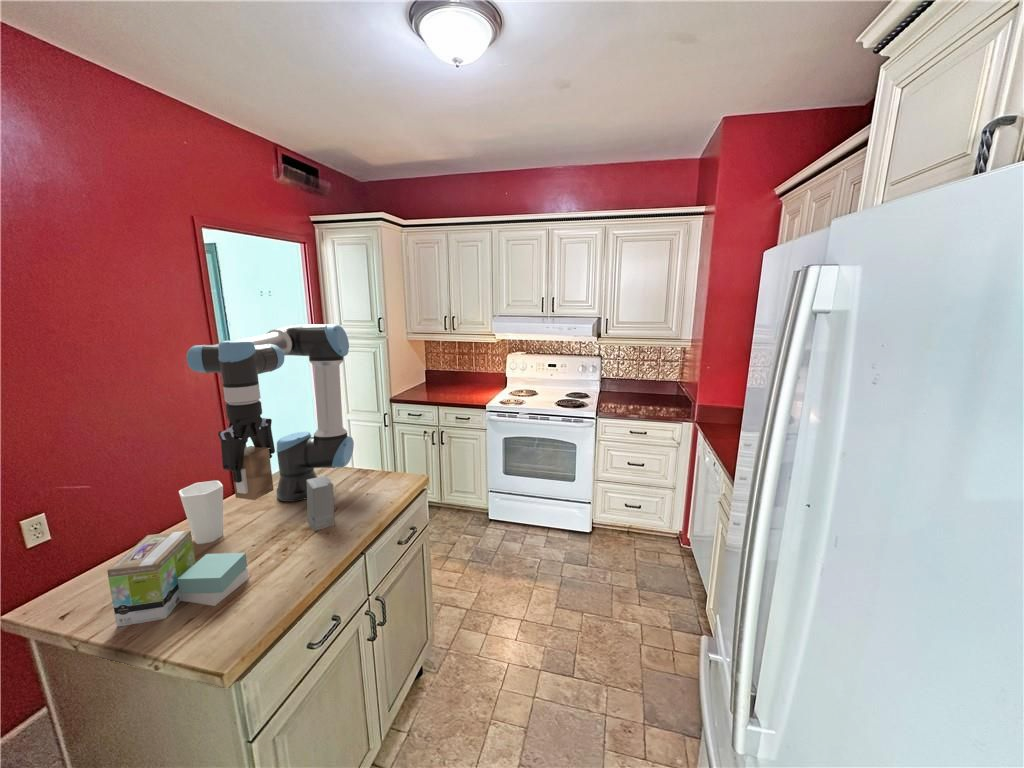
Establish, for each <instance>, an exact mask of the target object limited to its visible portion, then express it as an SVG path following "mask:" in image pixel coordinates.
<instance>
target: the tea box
mask: <svg viewBox="0 0 1024 768" xmlns="http://www.w3.org/2000/svg"><path fill="white" fill-rule="evenodd" d="M195 563H196V557H195V549H194V545H193V535H192V532H191V530H183V531H173V532H166V533H165V532H164V533H155V534H147V535H146V536H145V537H144V538H143V539H141V541H139V542H138V543H137V544H136V545H135V546H133V547H132V548H131V549H130V550H129V551H128V552H126V554H124V555H123V556H122V557H120V559H119V560H117V561H116V562H114V564H113V565H111V566H110V567H108V569H107V577H108V578H107V579H108V582H109V590H110V596H111V603H112V606H113V607H112V608H113V612H114V618H115V624H116V627H118V626H119V627H125V626H130V625H134V624H135V625H136V624H141V623H142V624H143V623H149V622H152V621H153V622H154V621H158V620H165V619H167V618H168V617H169V615H170V614H171V613H172V612H173V610H174V609H175V607H176V606H177V605H179V603H180V602H181V599H180V594H179V586H178V580H177V579H178V578H179V577H180V576H181V575H183V574H184V573H185V572H186V571H187V570H188V569H190V568H191V567H192V566H193V565H194V564H195Z"/></svg>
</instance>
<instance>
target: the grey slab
mask: <svg viewBox="0 0 1024 768" xmlns="http://www.w3.org/2000/svg"><path fill="white" fill-rule="evenodd" d="M249 579H250V577H249V571H248V568H247V567H246V568H245V569H244V570H243V571H242V572H241V573H240V575H239V576H238V577H237V578H236V579H235V580H234V581H233V582H232V583H231V584H230V585H229V586H228V587H227V588H226V589H225V590H224V591H223V592H221V593H187V594H180V592H179V594H180V599H181V600H180V602H187V603H193V604H200V605H207V606H212V607H213V606H214V607H215V606H217V605H218V604H219V603H221V602H222V601H223V600H224V599H225V598H226V597H228V596H230V595H231V594H232V593H233V592H235V590H236V589H239V587H241V586H242V584H244V583H245V582H246V581H248V580H249Z"/></svg>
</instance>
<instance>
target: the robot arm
mask: <svg viewBox="0 0 1024 768" xmlns="http://www.w3.org/2000/svg"><path fill="white" fill-rule="evenodd" d="M349 342H350V341H349V338H348V335H347V333H346V330H345V329H344V328H343V327H342V326H341V325H338V324H331V323H325V324H324V323H321V324H318V323H314V324H303V323H300V324H293V325H288V326H283V327H279V328H275V329H270V330H269V331H268V332H266V333H265V334H261V335H256V336H251V337H246V338H241V339H234V340H233V339H232V340H223V341H220V342H219V343H216V344H201V345H199V344H198V345H193V346H191V347H190V348H189V349H188V351H187V353H186V357H185V358H186V361H187V362H186V363H187V365H188V368H189V369H190V370H192V371H193V372H195V373H204V374H209V373H210V374H211V373H213V374H217V373H221V380H222V389H223V396H224V397H223V398H224V402H225V403H227V404H226V405H225V412H226V417H227V420H228V421H229V425H228V428H227V429H225V430H223V431H222V430H220V431H218V432H217V433H218V434H217V435H218V438H219V440H220V444H221V445H220V448H221V458H222V459H221V460H222V461H221V462H222V469H223V470H224V471H230V472H231V474H232V481H233V483H234V482H236V488H237V493H243V494H246V493H248V487H247V479H246V471H245V469H244V468H242V464H243V455H244V451H245V448H246V444H247V442H248V441H249V438H250V440H251V443H252V444H253V446H255V447H261V448H262V447H266V448H269V454H270V459H271V458H273V454H275V452H276V455H277V463H278V464H277V465H278V470H279V471H278V472H279V479H278V485H277V487H276V498H277V499H278V500H280V501H283V502H295V501H296V502H297V501H301V499H302V500H305V499H304V498H306V499H307V482H306V480H308V479H312V478H317V477H318V476H317V474H316V471H315V468H316V469H317V468H321V469H322V468H323V469H324V468H326V469H327V468H328V469H331V468H332V469H337V468H343V467H344V468H345V467H346V466H348V464H349V463H350V461H351V459H352V457H353V453H354V447H355V443H354V438H353V437H352V436H350V435H348V430H346V429H345V428H344V426H343V412H342V411H343V408H342V390H341V389H342V387H341V386H342V385H341V372H340V371H341V370H340V366H341V364H342V363H343V362H344V357H346V356H348V354H349V352H350V351H349V350H350V343H349ZM286 356H295V357H296V356H297V357H299V356H300V357H308V361H309V363H310V364H311V365H312V366H313V370H314V385H315V401H316V402H315V403H316V404H315V405H316V420H317V421H316V423H317V430H316V431H315V432H313V436H312V434H311V433H310V432H309V431H300V432H295V433H290V434H288V435H285V436H282V437H280V438H279V439H278V440H277V441H276V448H275V443H274V442H275V441H274V437H273V431H272V423H273V422H272V420H273V419H271V418H266V417H262V416H261V415H262V414H263V408H262V402H261V400H260V399H261V391H260V384H259V383H260V382H259V375H261V374H266V373H269V372H270V373H272V372H273V371H275V370H278V369H280V368H282V366H283V365H284V364H285V363H284V362H285V357H286Z"/></svg>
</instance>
